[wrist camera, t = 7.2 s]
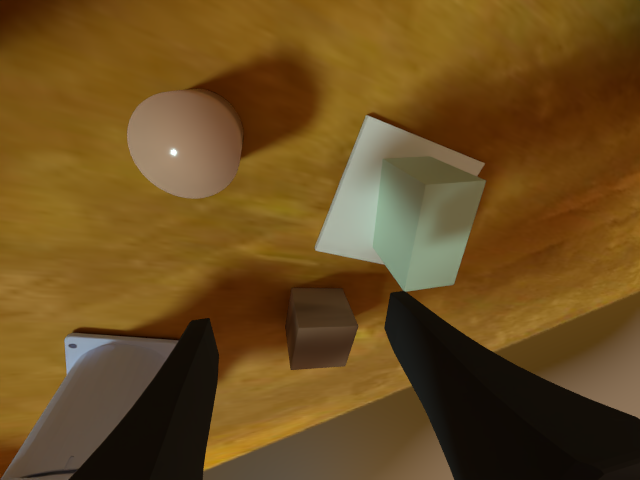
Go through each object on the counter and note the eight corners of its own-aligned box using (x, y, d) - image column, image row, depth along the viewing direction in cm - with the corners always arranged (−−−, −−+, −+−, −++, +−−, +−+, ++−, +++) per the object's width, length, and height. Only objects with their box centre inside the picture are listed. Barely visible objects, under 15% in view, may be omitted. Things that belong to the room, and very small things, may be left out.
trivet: (417, 269, 25) (419, 271, 24) (314, 247, 21) (315, 250, 21) (481, 162, 21) (485, 163, 20) (366, 115, 17) (368, 115, 17)
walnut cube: (332, 324, 26) (345, 366, 23) (285, 326, 25) (290, 370, 21) (342, 287, 24) (358, 326, 20) (291, 287, 23) (298, 327, 19)
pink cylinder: (235, 177, 18) (229, 208, 13) (158, 157, 16) (124, 183, 12) (251, 105, 16) (250, 114, 12) (166, 75, 14) (130, 72, 10)
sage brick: (412, 242, 23) (453, 284, 18) (372, 247, 22) (404, 291, 17) (429, 156, 19) (486, 180, 14) (382, 158, 19) (425, 184, 14)
